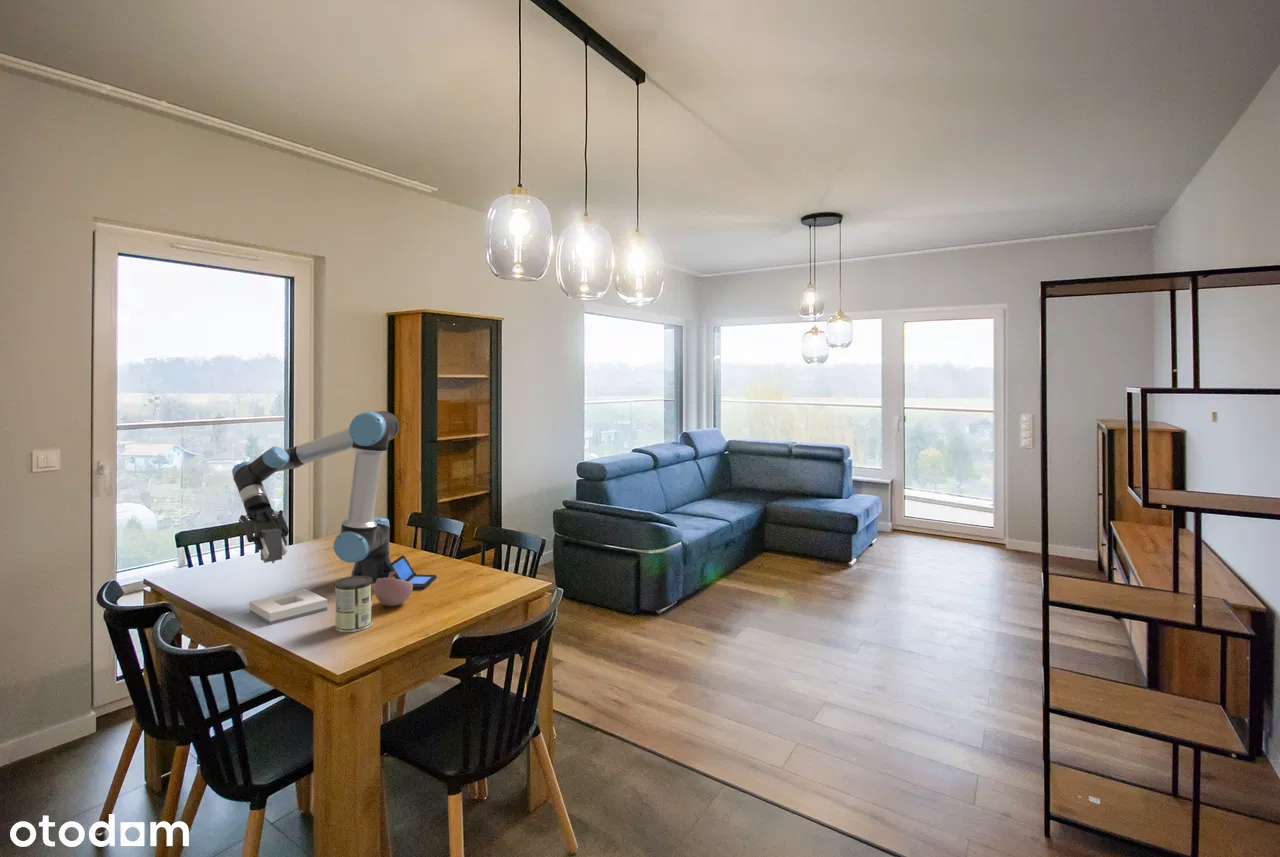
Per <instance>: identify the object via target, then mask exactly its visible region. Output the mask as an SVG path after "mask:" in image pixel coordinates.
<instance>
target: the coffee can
mask: <svg viewBox="0 0 1280 857" xmlns="http://www.w3.org/2000/svg"><path fill="white" fill-rule="evenodd" d="M334 589H335V593H334V594H335V595H334V596H335V597H334V598H335V599H334V601H335V604H334V605H335V630H336V631H337V632H339V633H355V632H360V631H363V630H367V629H369V628H370V627H371V626H372V625H373V606H372V605H373V590H372V589H373V582H372V578H371V577H368V576H352V577H351V576H346V577H343V578H340V579H337V580H335V582H334Z"/></svg>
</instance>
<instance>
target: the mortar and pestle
mask: <svg viewBox="0 0 1280 857" xmlns="http://www.w3.org/2000/svg"><path fill="white" fill-rule="evenodd" d="M397 572H398V571H397V570H395V571H393V572H390V574H389V576H388V578H378V579H377V580H376V582H374V587H373V588H374V590H373V591H374V595H375V598H376V599H377V600H378V602H380V603H381V604H382V605H384V606H388V607H396V606H399V605H402V604H403V603H405V602H406V601H407V600H409V598H410V597H411V594H412V592H413V590H412V589H413V583H411V582H408V581H404V580H399V579H395V578H393V577H394V576H393V575H394V574H396V573H397ZM392 576H393V577H392Z"/></svg>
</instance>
